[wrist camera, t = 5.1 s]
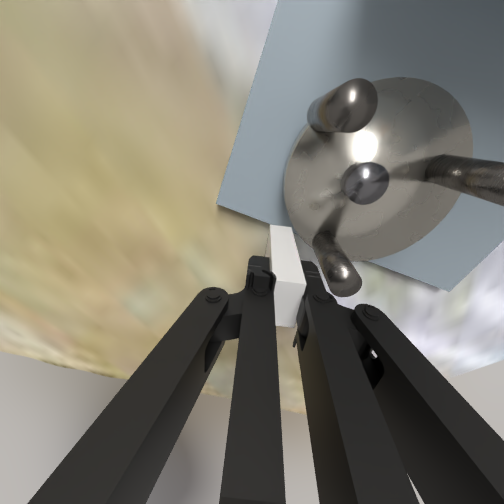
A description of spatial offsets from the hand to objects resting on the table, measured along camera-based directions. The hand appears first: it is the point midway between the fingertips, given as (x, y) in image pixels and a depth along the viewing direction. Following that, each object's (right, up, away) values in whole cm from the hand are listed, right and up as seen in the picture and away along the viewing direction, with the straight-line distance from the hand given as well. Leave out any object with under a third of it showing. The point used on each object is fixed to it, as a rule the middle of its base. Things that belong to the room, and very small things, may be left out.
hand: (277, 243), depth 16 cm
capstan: (+6, +5, +1) cm, 8 cm away
